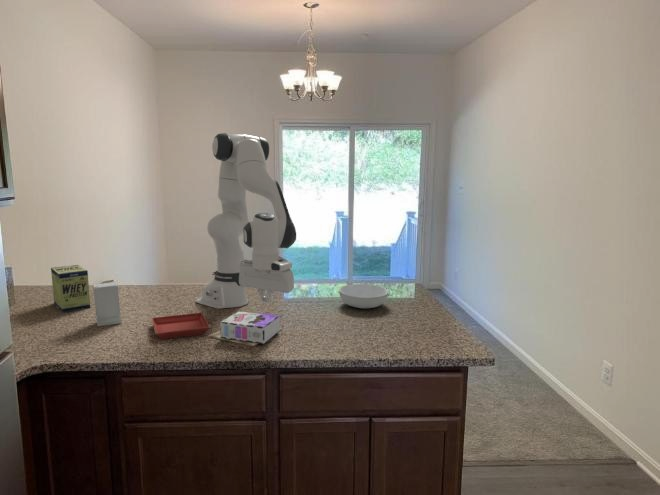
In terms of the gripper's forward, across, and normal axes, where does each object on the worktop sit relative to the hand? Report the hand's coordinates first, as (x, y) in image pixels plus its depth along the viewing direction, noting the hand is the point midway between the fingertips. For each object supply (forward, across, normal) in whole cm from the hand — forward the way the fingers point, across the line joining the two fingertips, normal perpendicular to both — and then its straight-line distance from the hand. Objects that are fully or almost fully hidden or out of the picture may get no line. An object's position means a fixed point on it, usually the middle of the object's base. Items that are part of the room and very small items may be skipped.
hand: (265, 301), depth 160 cm
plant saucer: (+13, -31, -8) cm, 35 cm away
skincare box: (+13, -59, -15) cm, 62 cm away
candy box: (+9, +3, 0) cm, 10 cm away
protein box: (+13, -90, -7) cm, 91 cm away
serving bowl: (+13, +16, +51) cm, 55 cm away
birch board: (+13, -8, 0) cm, 15 cm away
